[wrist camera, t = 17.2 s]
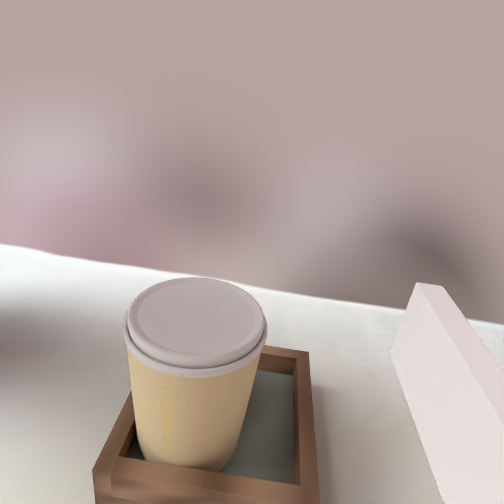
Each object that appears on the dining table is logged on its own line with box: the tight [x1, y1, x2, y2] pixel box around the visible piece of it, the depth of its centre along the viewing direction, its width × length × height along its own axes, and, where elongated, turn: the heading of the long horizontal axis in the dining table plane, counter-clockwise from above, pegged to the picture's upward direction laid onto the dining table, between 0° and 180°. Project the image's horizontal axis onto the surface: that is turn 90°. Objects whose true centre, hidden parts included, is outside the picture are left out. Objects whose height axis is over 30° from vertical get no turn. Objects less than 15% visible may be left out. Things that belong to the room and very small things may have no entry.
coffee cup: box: [123, 277, 267, 472], centre depth 27 cm, size 9×9×12 cm
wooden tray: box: [92, 345, 320, 504], centre depth 32 cm, size 15×15×6 cm
